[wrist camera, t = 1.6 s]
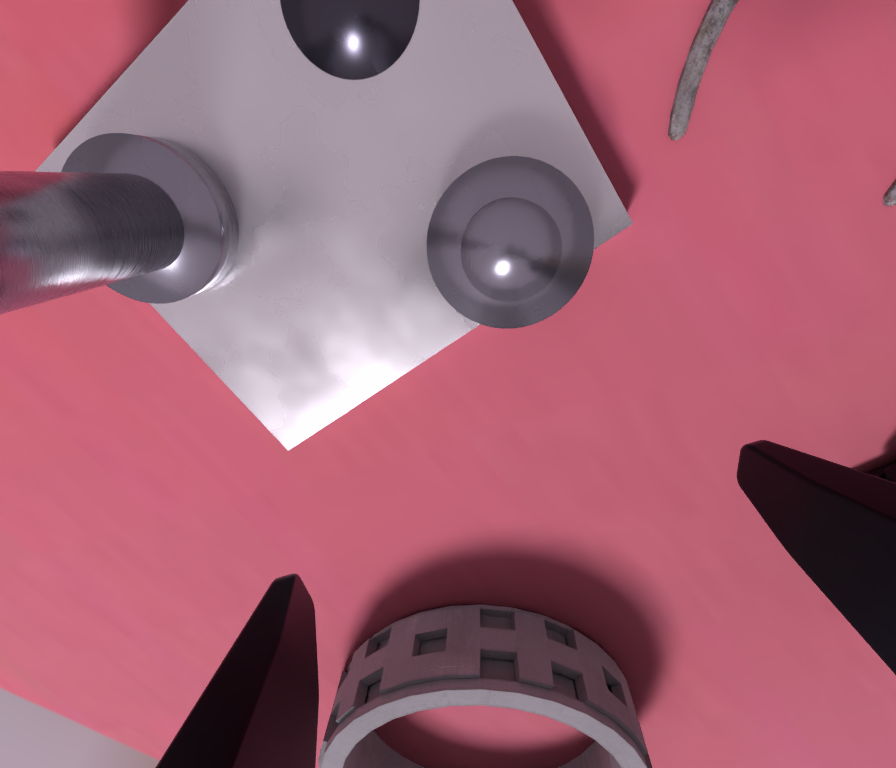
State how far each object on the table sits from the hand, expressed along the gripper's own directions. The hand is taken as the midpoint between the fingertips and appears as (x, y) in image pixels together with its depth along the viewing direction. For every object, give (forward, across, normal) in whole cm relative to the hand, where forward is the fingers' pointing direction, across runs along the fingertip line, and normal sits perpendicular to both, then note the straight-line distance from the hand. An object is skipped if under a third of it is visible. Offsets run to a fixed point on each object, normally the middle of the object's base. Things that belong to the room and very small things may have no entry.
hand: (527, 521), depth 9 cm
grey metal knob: (+10, -3, -2) cm, 11 cm away
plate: (+13, +3, -5) cm, 15 cm away
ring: (+10, +3, +25) cm, 27 cm away
